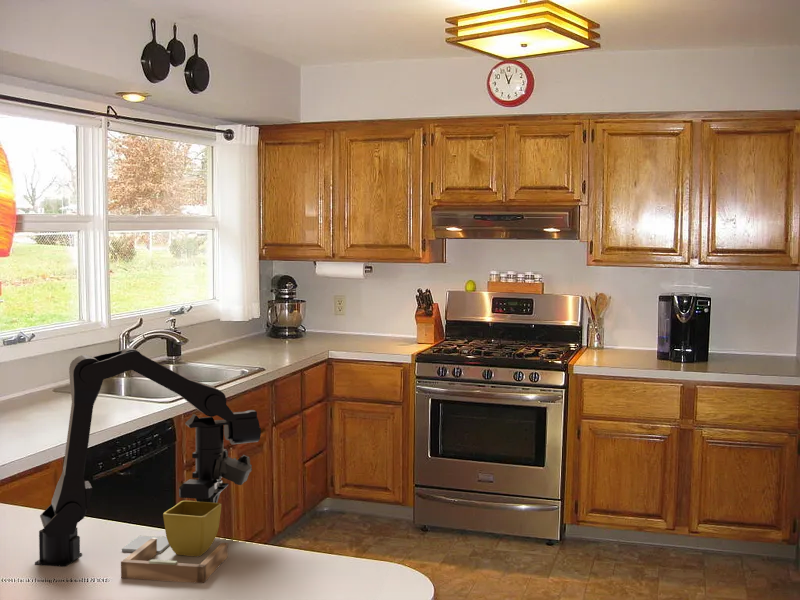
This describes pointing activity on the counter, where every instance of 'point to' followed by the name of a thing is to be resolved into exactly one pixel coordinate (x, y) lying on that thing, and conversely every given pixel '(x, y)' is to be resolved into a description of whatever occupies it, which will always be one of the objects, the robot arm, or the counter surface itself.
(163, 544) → the tile
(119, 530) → the counter surface
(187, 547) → the flower pot
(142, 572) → the wooden tray frame
